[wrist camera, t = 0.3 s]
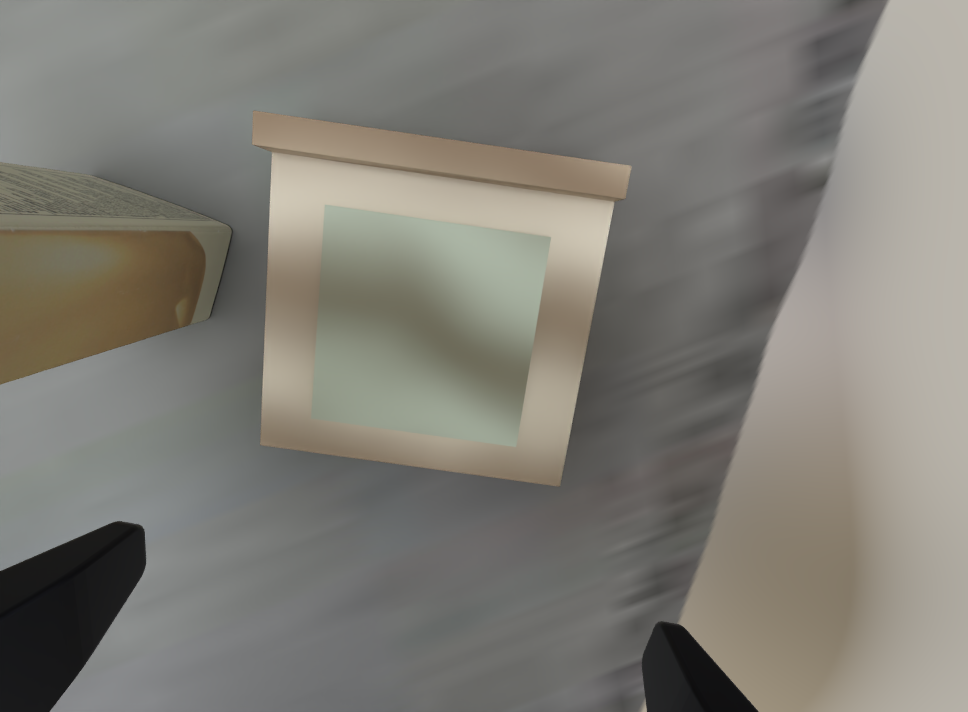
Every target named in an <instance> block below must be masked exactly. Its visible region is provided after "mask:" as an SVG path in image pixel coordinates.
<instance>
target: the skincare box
mask: <svg viewBox="0 0 968 712" xmlns="http://www.w3.org/2000/svg"><path fill="white" fill-rule="evenodd" d="M231 233H232V231H231V228H230V227H229V226H228V225H226V224H223V223H221V222H218V221H216V220H214V219H211V218H209V217H206V216H204V215H201V214H198V213H196V212H193V211H190V210H188V209H186V208H183V207H180V206H178V205H175V204H172V203H170V202H167V201H164V200H161V199H158V198H156V197H153V196H150V195H147V194H145V193H142V192H139V191H136V190H133V189H130V188H127V187H125V186H122V185H119V184H116V183H113V182H110V181H106V180H103V179H100V178H97V177H94V176H91V175H86V174H79V173H72V172H65V171H58V170H51V169H44V168H37V167H30V166H23V165H16V164H9V163H2V162H0V384H3V383H6V382H9V381H13V380H16V379H19V378H23V377H26V376H29V375H32V374H35V373H38V372H41V371H44V370H47V369H51V368H54V367H57V366H60V365H63V364H67V363H70V362H73V361H76V360H80V359H83V358H86V357H89V356H92V355H96V354H99V353H102V352H105V351H108V350H112V349H115V348H118V347H121V346H125V345H128V344H131V343H134V342H137V341H140V340H143V339H146V338H149V337H153V336H156V335H159V334H162V333H165V332H169V331H172V330H175V329H178V328H181V327H185V326H188V325H192V324H195V323H198V322H201V321H204V320H207V319H208V318H209V317H210V313H211V310H212V306H213V302H214V299H215V296H216V293H217V289H218V285H219V282H220V278H221V274H222V271H223V267H224V263H225V259H226V255H227V251H228V247H229V243H230V238H231Z"/></svg>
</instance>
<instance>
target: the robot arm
mask: <svg viewBox="0 0 968 712" xmlns="http://www.w3.org/2000/svg"><path fill="white" fill-rule="evenodd" d="M145 566H146V548H145V532H144V529H143V527H142V526H141V525H139V524H133V523H128V522H122V521H117V522H113V523H110V524H108V525H106V526H104V527H101V528H99V529H97V530H94V531H92V532H90V533H87V534H85V535H83V536H80V537H78V538H76V539H73V540H71V541H69V542H67V543H64V544H62V545H60V546H57V547H55V548H53V549H50V550H48V551H46V552H43V553H41V554H39V555H36V556H34V557H32V558H30V559H27V560H25V561H23V562H20V563H18V564H16V565H13V566H11V567H9V568H6V569H4V570H2V571H0V712H50V710H51V709H52V708H53V706H54V705H55V704H56V702H57V701H58V700H59V699H60V697H61V696H62V695H63V693H64V692H65V691H66V689H67V688H68V687H69V686H70V684H71V683H72V682H73V680H74V679H75V678H76V676H77V675H78V674H79V672H80V671H81V670H82V668H83V667H84V665H85V664H86V662H87V661H88V659H89V658H90V656H91V655H92V654H93V652H94V651H95V649H96V647H97V646H98V644H99V643H100V641H101V640H102V638H103V636H104V635H105V633H106V632H107V630H108V629H109V627H110V625H111V624H112V622H113V621H114V619H115V618H116V616H117V614H118V613H119V611H120V610H121V608H122V607H123V605H124V603H125V602H126V600H127V599H128V597H129V596H130V594H131V592H132V591H133V589H134V588H135V586H136V585H137V583H138V582H139V580H140V578H141V577H142V575H143V572H144V570H145ZM642 673H643V681H644V690H645V698H646V707H647V712H758V710H757V709H756V708H755V707H754V706H753V705H752V704H751V702H750V701H749V700H748V699H747V698H746V697H745V696H744V695H743V693H742V692H741V691H740V690H739V689H738V688H737V687H736V685H735V684H734V683H733V682H732V681H731V680H730V679H729V678H728V676H726V674H725V673H724V672H723V671H722V670H721V669H720V667H719V666H718V665H717V664H716V663H715V662H714V661H713V659H712V658H711V657H710V656H709V655H708V654H707V653H706V651H704V649H703V648H702V647H701V646H700V645H699V644H698V642H697V641H696V640H695V639H694V638H693V637H692V636H691V634H690V633H689V632H688V631H687V630H686V629H685V628H684V627H683V626H681V625H679V624H674V623H669V622H663V621H660V622H658V623H657V624H656V625H655V627H654V629H653V631H652V634H651V636H650V639H649V641H648V643H647V646H646V648H645V651H644V653H643V658H642Z"/></svg>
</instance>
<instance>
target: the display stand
mask: <svg viewBox="0 0 968 712" xmlns="http://www.w3.org/2000/svg"><path fill="white" fill-rule="evenodd" d="M252 145H255V146H258V147H260V148H263V149H266V150H268V151H271V152H272V167H271V192H270V217H269V241H268V266H267V291H266V315H265V340H264V365H263V389H262V414H261V439H260V445H263V446H270V447H277V448H285V449H292V450H299V451H306V452H313V453H321V454H328V455H335V456H342V457H350V458H357V459H364V460H371V461H378V462H386V463H393V464H400V465H407V466H414V467H422V468H429V469H436V470H443V471H450V472H458V473H465V474H472V475H479V476H487V477H494V478H501V479H508V480H515V481H523V482H530V483H537V484H544V485H551V486H559V487H560V483H561V478H562V473H563V468H564V462H565V457H566V452H567V447H568V442H569V436H570V431H571V426H572V421H573V415H574V410H575V405H576V400H577V395H578V389H579V384H580V379H581V374H582V369H583V363H584V358H585V353H586V348H587V343H588V337H589V332H590V327H591V322H592V316H593V311H594V306H595V301H596V296H597V290H598V285H599V280H600V275H601V270H602V264H603V259H604V254H605V249H606V244H607V238H608V233H609V228H610V223H611V217H612V212H613V207H614V202H615V201H619V200H623V199H625V197H626V192H627V187H628V182H629V177H630V172H631V166H628V165H621V164H614V163H607V162H601V161H594V160H587V159H580V158H573V157H566V156H560V155H553V154H546V153H539V152H532V151H525V150H519V149H512V148H505V147H498V146H491V145H484V144H478V143H471V142H464V141H457V140H450V139H443V138H437V137H430V136H423V135H416V134H409V133H402V132H396V131H389V130H382V129H375V128H368V127H362V126H355V125H348V124H341V123H334V122H327V121H321V120H314V119H307V118H300V117H293V116H286V115H280V114H273V113H266V112H259V111H253V132H252Z"/></svg>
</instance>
